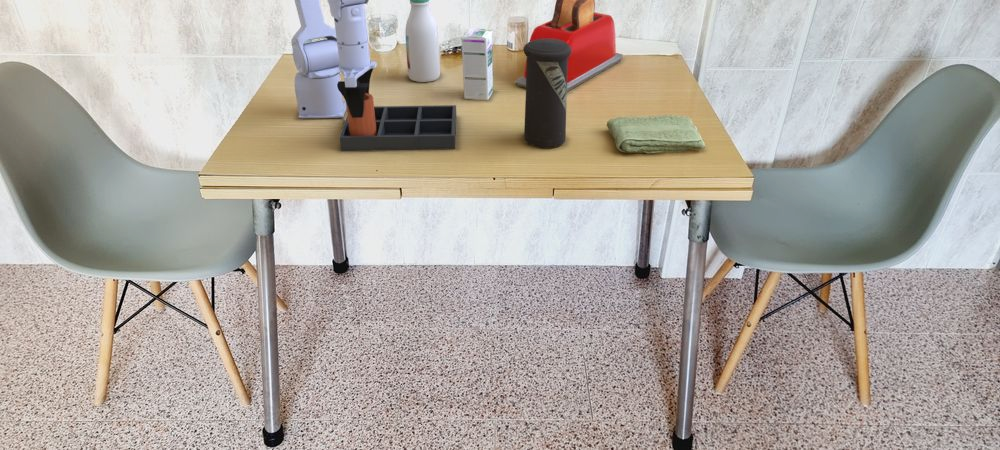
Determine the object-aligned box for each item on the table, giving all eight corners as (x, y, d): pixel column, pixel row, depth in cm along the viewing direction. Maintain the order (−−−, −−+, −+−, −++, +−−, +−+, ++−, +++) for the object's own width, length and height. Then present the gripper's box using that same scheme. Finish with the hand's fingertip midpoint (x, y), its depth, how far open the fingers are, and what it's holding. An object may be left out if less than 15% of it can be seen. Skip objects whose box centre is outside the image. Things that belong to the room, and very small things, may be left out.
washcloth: (707, 153, 141) (710, 137, 139) (617, 156, 140) (619, 141, 138) (687, 125, 152) (689, 110, 150) (604, 128, 151) (605, 113, 149)
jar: (349, 145, 143) (343, 103, 138) (352, 134, 147) (347, 92, 142) (375, 145, 143) (371, 102, 138) (378, 134, 147) (374, 92, 143)
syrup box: (488, 101, 163) (487, 37, 155) (463, 98, 164) (461, 35, 156) (493, 91, 168) (493, 29, 160) (468, 89, 169) (467, 27, 161)
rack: (341, 151, 142) (339, 137, 140) (351, 119, 155) (350, 106, 153) (455, 149, 142) (454, 135, 141) (456, 117, 155) (456, 105, 154)
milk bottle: (446, 75, 177) (443, -9, 166) (427, 85, 171) (422, -1, 160) (421, 69, 180) (416, -13, 169) (401, 78, 175) (395, -6, 164)
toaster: (558, 98, 164) (562, 15, 154) (512, 85, 171) (513, 5, 161) (625, 59, 186) (632, -16, 176) (582, 49, 193) (586, -24, 183)
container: (553, 153, 141) (558, 53, 130) (514, 142, 145) (515, 44, 134) (574, 136, 147) (580, 40, 136) (535, 127, 151) (538, 32, 140)
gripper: (369, 53, 128) (376, 124, 135) (378, 28, 140) (384, 94, 148) (329, 53, 128) (338, 124, 135) (341, 28, 140) (349, 94, 148)
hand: (360, 108), depth 141 cm, fingers open, 7 cm apart
